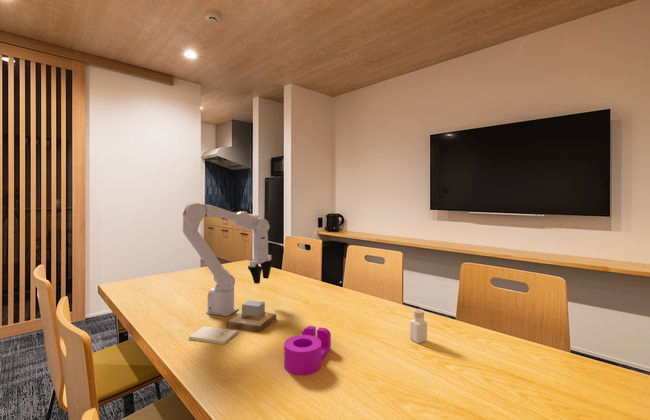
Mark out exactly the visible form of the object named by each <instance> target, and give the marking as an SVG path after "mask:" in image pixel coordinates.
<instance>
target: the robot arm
mask: <svg viewBox="0 0 650 420" xmlns="http://www.w3.org/2000/svg"><path fill="white" fill-rule="evenodd" d="M210 217H217V218H222V219H224V220H229V221H233V223H234V225H235V226H237V227H240V228H244V229H248V230H250V231H253V233H252V234H253V237H252V238H253V259H252V260H250V261H249V265H248V266H247V267H248V270H249V272H250V274H251V277H252V280H253V283H254V284H257V285H258V284H260V282H261V274H262V278H263V279H269V278H270V273H271V270H272V266H273V264H274V260H272V254H269V237H268V235H269V234H268V231H269V230H270V226H271V225H270V224H269V221H268V219H266V218H262V217H259V215H257V214H256V215H253V214H250V213H248V212H247V211H245V210H243V211H238V212H232V211H230V210H227V209H225V208H221V207H218V206H215V205H212V204H207V203H206V204H205V203H199V202H194V201H193V202H190V203H187V205H186V206H185V208H184V210H183V213H182V232H183V234H184V237H186V238H187V240H188V242H189V243H190V244H191V246H192V247H193V249H194V250H195V251H196V252H197V254H198V255H199V257H200V258H201V260H202V261H203V263H204V264H205V265H206V267H207V268H208V269H209V271H210V273H212V275H213V281H214V282H215V287H212V288H210V289H209V291H208V293H207V311H206V314H209V315H217V316H223V317H224V316H225V317H229V315H231V314H233V313H235V312H236V311H238V310H239V309H240V308H239V307H236V306H235V285H236V279H235V277H234V276H233V275H232V274H231V273H230V271H229V270H228V269H225V267H224V266H223V265H222V263H221V262H220V260H219V259H218V257H217V255H216V254H215V253H214V252H213V250H212V249H211V248H210V246H209V244H208V243H207V241H206V240H205V239H204V237H203V236H202V235H201V233H200V232H199V228H200V224H201V222H202V221H203V219H204V218H210Z"/></svg>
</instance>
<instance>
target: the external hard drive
mask: <svg viewBox="0 0 650 420" xmlns="http://www.w3.org/2000/svg"><path fill="white" fill-rule="evenodd" d="M237 334H238V329H227V328H220V327H213V326H202V327H200V328H199V329H197V330H196V331H195V332H193V333H192V334H190V335H189V336H188V340H189V341H197V342H204V343H211V344H221V345H225V344H226V343H228V342H229V341H230V340H231V339H232V338H234V337H235V336H236V335H237Z"/></svg>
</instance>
